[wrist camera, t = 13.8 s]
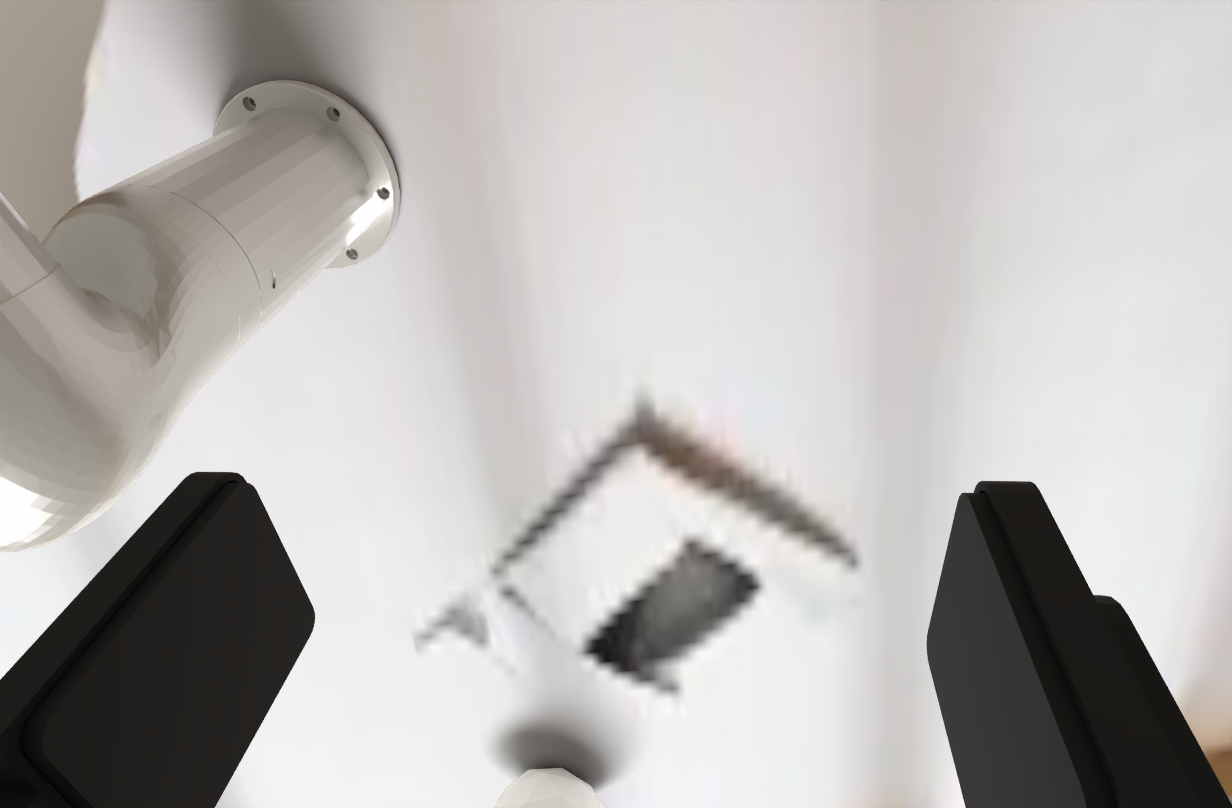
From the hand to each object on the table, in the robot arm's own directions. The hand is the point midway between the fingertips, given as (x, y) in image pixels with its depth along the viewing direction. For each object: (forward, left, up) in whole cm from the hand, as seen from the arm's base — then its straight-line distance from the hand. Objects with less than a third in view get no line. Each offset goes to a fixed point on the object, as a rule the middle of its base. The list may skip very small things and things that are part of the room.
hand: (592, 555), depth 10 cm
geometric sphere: (-76, -38, -40) cm, 94 cm away
